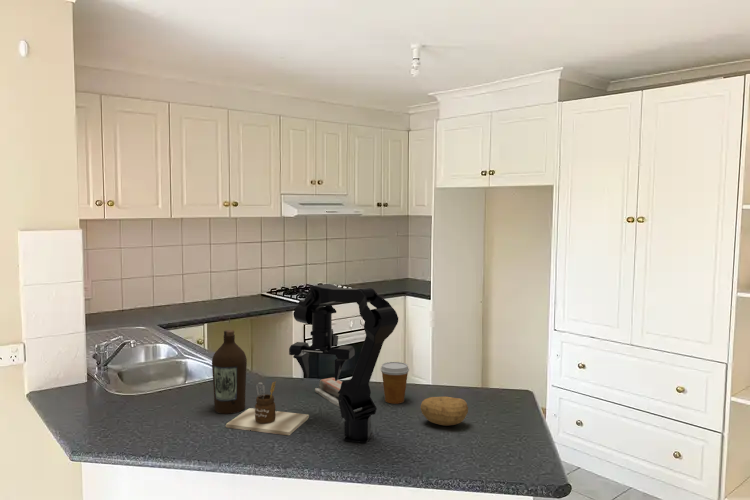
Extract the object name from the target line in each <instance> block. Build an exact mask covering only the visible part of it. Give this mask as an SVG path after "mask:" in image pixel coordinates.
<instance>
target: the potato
mask: <svg viewBox="0 0 750 500" xmlns="http://www.w3.org/2000/svg"><path fill="white" fill-rule="evenodd" d="M420 411H421V414H422V415H423V416H424V418H425V419H426V420H427V421H429V422H430V423H432V424H436V425H439V426H446V427H448V426H454V425H458V424H461V423H462V422H463V421H464V420H465V419H466V417H467V414H468V413H469V407H468V403H467V401H466V400H465V399H463V398H460V397H459V398H458V397H450V396H430V397H427V398H424V399H423V400H422V401H421V404H420Z"/></svg>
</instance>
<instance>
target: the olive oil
mask: <svg viewBox="0 0 750 500" xmlns="http://www.w3.org/2000/svg"><path fill="white" fill-rule="evenodd" d="M235 335H236V334H235V330H234V329H226V330H223V343H222V344H221V346H220V347H219V348H218V349H217V350H216V351H215V353H213V356H212V360H211V369H212V384H213V385H212V386H213V402H214V405H213V406H214V411H215V412H216V413H219V414H222V415H223V414H225V415H226V414H227V415H228V414H229V415H230V414H237V413H240V412H242V411H245V410H246V385H247V365H248V364H247V362H248V359H247V356H246V353H245V351H244V350H243V349H242V348H241V347H240V346H239V345H238V344H237V343H236V342H235V341H236V340H235V338H236V337H235ZM244 409H245V410H244Z"/></svg>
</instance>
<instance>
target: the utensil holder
mask: <svg viewBox="0 0 750 500" xmlns="http://www.w3.org/2000/svg"><path fill="white" fill-rule="evenodd" d="M276 383H277V381H274V382H272V383H271V387H270V391H269V392H270V394H266V393H265V389H266V388H265V386H261V385H262V382H258V384H256V390H257V393H263V394H259V395H258V396H256V400H255V405H254V409H255V420H256V422H258V423H262V424H265V423H271V422H273V421H274V420H275V416H276V409H277V408H276V402H275V395H273V393H274V392H275V387H276ZM258 386H259V387H262V390H263V391H261V390H260V392H259V388H258Z"/></svg>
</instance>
